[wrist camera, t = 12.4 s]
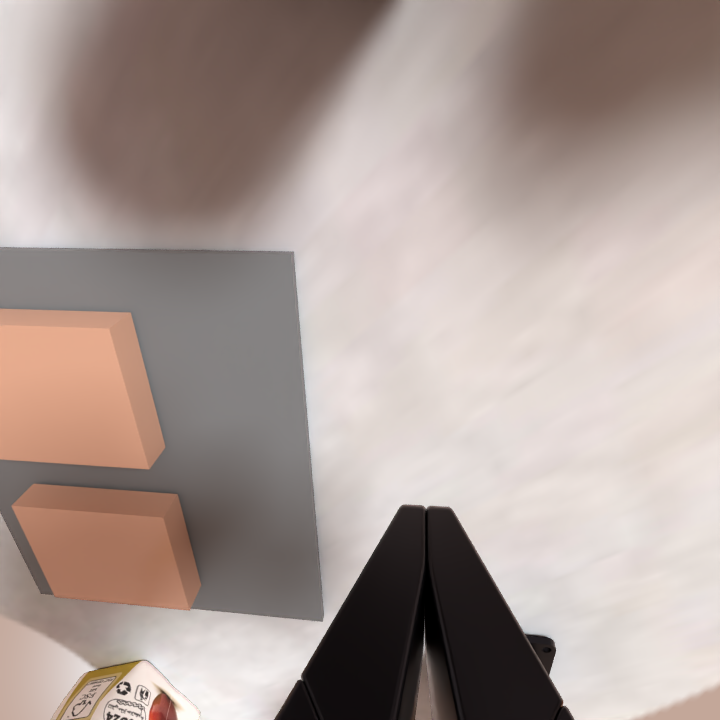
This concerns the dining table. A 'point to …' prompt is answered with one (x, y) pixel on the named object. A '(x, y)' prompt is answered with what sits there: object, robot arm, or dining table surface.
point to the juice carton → (125, 696)
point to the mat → (199, 410)
